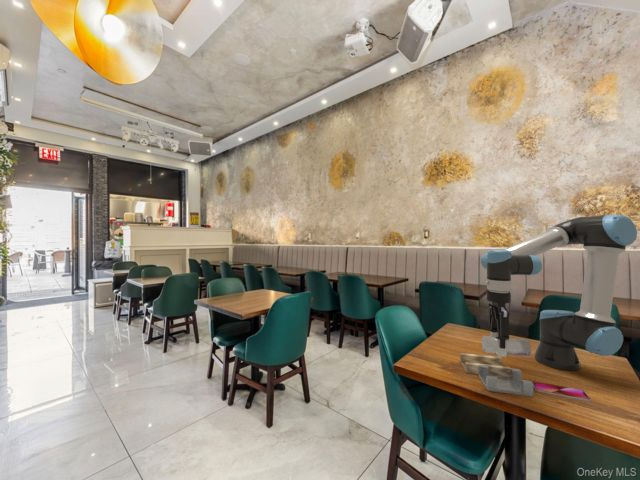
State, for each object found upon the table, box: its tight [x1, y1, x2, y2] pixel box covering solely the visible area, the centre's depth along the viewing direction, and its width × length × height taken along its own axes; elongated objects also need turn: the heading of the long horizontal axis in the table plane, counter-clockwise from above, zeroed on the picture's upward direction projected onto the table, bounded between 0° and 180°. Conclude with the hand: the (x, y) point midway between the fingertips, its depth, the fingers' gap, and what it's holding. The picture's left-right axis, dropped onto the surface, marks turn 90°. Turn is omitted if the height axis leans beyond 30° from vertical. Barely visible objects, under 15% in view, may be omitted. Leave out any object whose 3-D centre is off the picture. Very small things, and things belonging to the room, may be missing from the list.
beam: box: [459, 352, 511, 377], centre depth 115 cm, size 16×12×4 cm
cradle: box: [478, 365, 534, 398], centre depth 102 cm, size 14×11×4 cm
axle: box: [481, 335, 532, 358], centre depth 102 cm, size 14×6×6 cm, turn 76°
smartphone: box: [531, 380, 591, 403], centre depth 98 cm, size 7×1×15 cm
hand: (498, 352), depth 103 cm, fingers closed on axle, 6 cm apart
